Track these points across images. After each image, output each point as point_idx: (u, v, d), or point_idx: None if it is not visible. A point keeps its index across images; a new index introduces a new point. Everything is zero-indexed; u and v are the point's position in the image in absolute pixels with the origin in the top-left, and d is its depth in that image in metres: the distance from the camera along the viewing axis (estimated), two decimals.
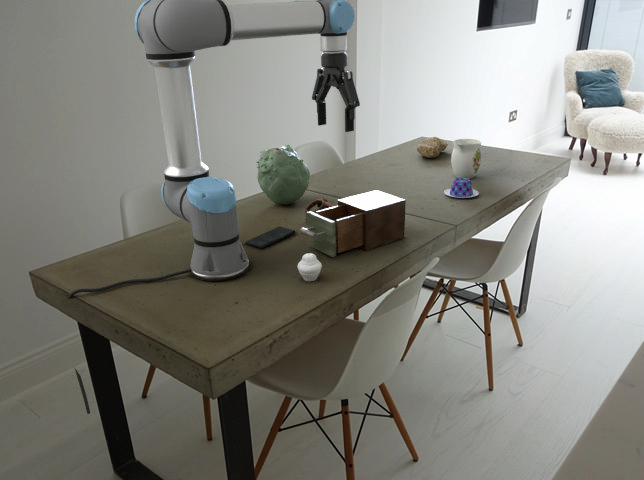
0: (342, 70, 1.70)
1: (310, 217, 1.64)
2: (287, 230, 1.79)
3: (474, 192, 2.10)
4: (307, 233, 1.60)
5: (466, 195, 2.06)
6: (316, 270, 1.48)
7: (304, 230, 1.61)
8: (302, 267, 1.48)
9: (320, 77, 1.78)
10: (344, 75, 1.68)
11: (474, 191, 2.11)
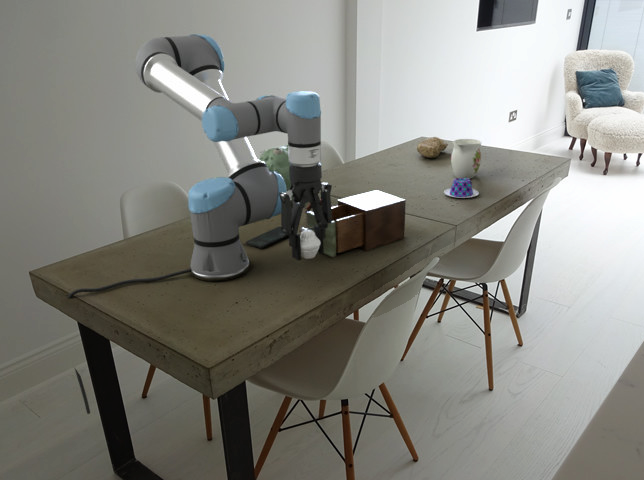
0: (292, 185, 1.38)
1: (310, 217, 1.64)
2: None
3: (474, 192, 2.10)
4: None
5: (466, 195, 2.06)
6: (315, 247, 1.45)
7: None
8: (300, 244, 1.45)
9: (321, 192, 1.45)
10: None
11: (474, 191, 2.11)
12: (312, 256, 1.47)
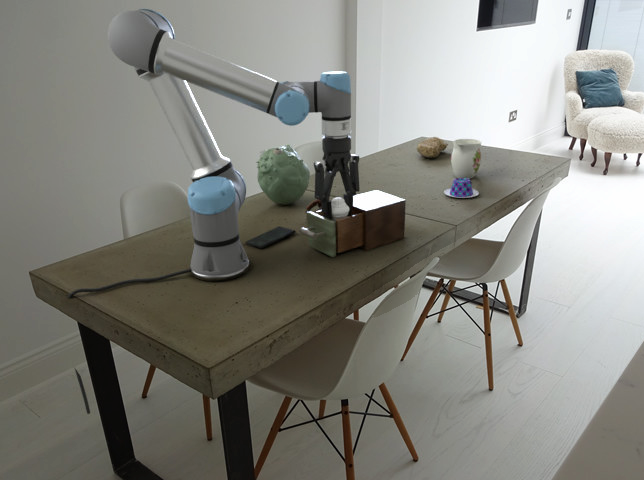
0: (325, 156, 1.55)
1: (310, 217, 1.64)
2: (287, 230, 1.79)
3: (474, 192, 2.10)
4: (307, 233, 1.60)
5: (466, 195, 2.06)
6: (344, 212, 1.61)
7: (304, 230, 1.61)
8: (332, 209, 1.61)
9: (350, 163, 1.62)
10: None
11: (474, 191, 2.11)
12: None
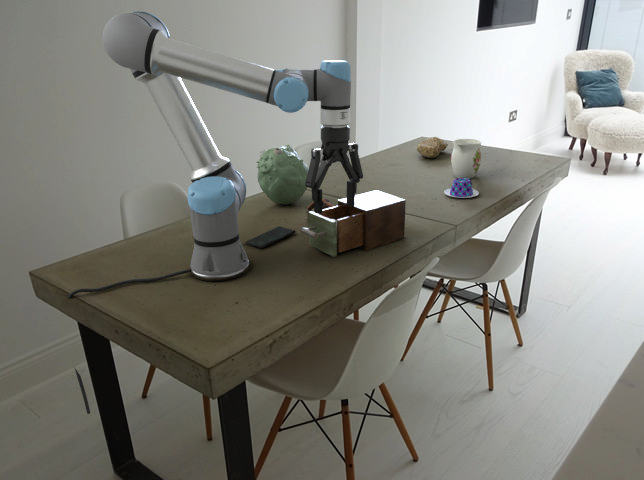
0: (323, 145, 1.53)
1: (311, 216, 1.64)
2: (287, 230, 1.79)
3: (474, 192, 2.10)
4: (308, 233, 1.60)
5: (466, 195, 2.06)
6: None
7: (305, 230, 1.61)
8: None
9: (349, 152, 1.60)
10: None
11: (474, 191, 2.11)
12: None
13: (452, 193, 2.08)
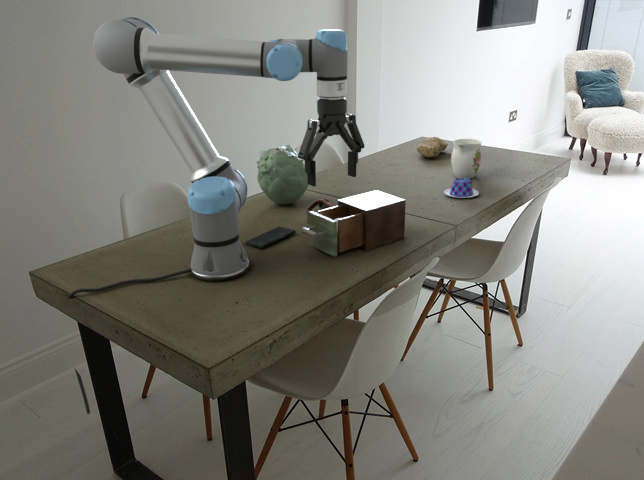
0: (320, 118, 1.50)
1: (311, 216, 1.65)
2: (287, 230, 1.79)
3: (474, 192, 2.10)
4: (309, 233, 1.60)
5: (466, 195, 2.06)
6: None
7: (306, 230, 1.61)
8: None
9: (347, 123, 1.57)
10: None
11: (474, 191, 2.11)
12: None
13: (452, 193, 2.08)
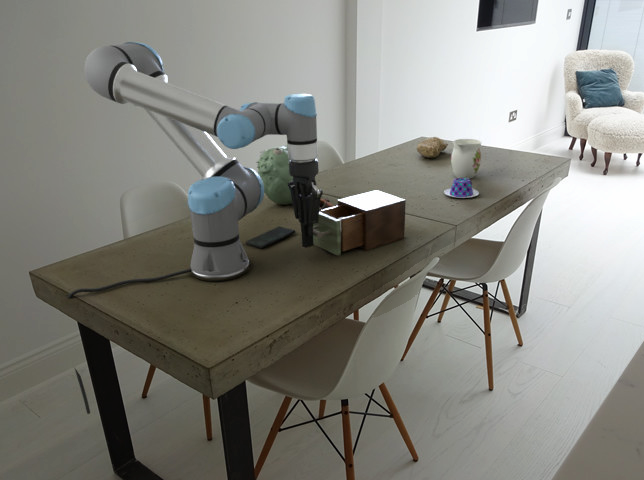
0: (312, 180, 1.50)
1: None
2: (287, 230, 1.79)
3: (474, 192, 2.10)
4: None
5: (466, 195, 2.06)
6: None
7: None
8: None
9: (293, 189, 1.58)
10: (313, 194, 1.50)
11: (474, 191, 2.11)
12: None
13: (452, 193, 2.08)
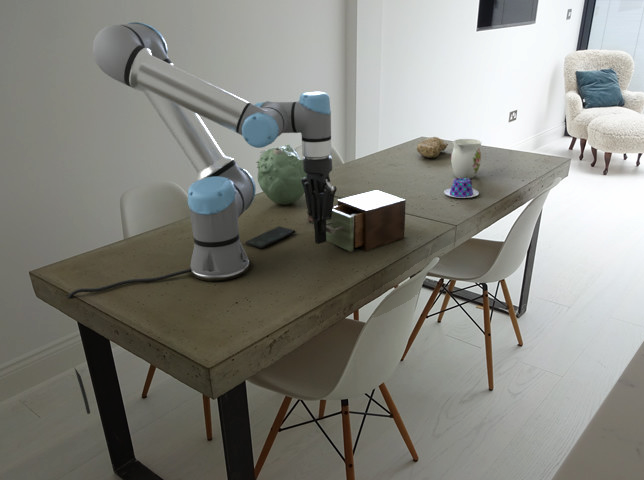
0: (326, 176, 1.53)
1: None
2: (287, 230, 1.79)
3: (474, 192, 2.10)
4: None
5: (466, 195, 2.06)
6: None
7: None
8: None
9: (307, 186, 1.60)
10: (327, 191, 1.52)
11: (474, 191, 2.11)
12: None
13: (452, 193, 2.08)
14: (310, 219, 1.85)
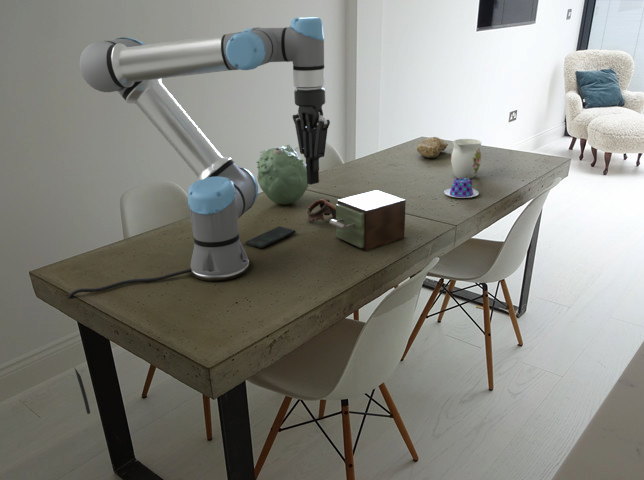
0: (319, 109, 1.44)
1: (339, 209, 1.69)
2: (287, 230, 1.79)
3: (474, 192, 2.10)
4: (337, 225, 1.65)
5: (466, 195, 2.06)
6: None
7: (334, 222, 1.66)
8: None
9: (298, 122, 1.52)
10: (319, 124, 1.44)
11: (474, 191, 2.10)
12: None
13: (452, 193, 2.08)
14: (310, 219, 1.85)
